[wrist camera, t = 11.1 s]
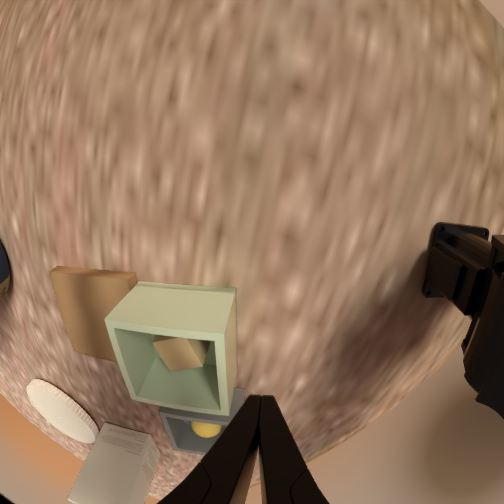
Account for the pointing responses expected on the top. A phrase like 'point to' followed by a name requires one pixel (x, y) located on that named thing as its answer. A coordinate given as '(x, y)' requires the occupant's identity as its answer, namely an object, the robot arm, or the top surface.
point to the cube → (181, 351)
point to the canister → (4, 272)
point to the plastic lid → (62, 411)
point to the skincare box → (117, 468)
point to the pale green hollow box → (184, 326)
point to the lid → (89, 305)
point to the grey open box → (180, 421)
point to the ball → (205, 429)
